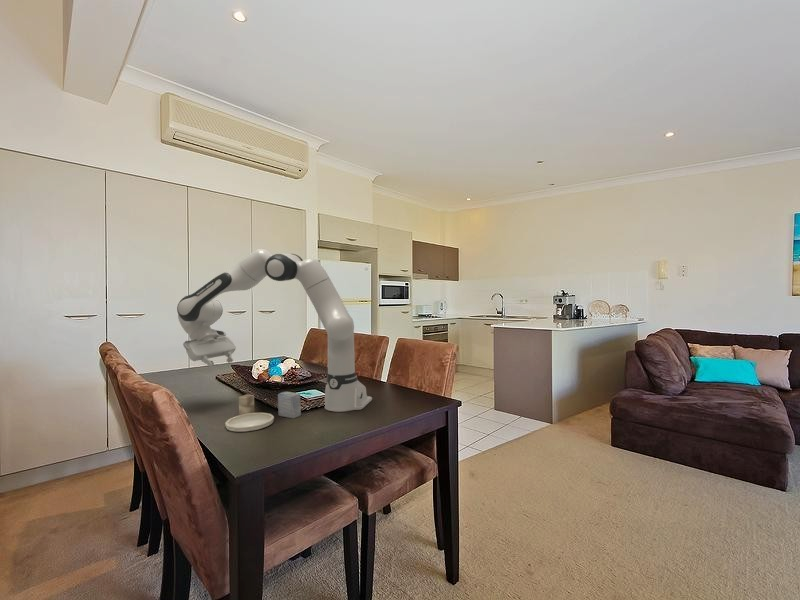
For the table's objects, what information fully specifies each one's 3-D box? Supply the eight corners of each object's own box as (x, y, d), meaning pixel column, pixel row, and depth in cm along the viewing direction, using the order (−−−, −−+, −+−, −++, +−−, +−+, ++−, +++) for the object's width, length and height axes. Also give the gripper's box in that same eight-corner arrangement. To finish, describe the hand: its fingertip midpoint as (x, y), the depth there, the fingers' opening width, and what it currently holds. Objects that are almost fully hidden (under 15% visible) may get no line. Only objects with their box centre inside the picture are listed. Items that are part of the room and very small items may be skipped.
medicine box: (301, 415, 148) (300, 393, 148) (292, 419, 144) (292, 396, 144) (286, 412, 152) (286, 391, 152) (277, 416, 148) (277, 393, 148)
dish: (250, 415, 150) (250, 410, 150) (282, 420, 143) (282, 415, 143) (215, 428, 135) (215, 424, 135) (249, 435, 129) (249, 430, 129)
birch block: (247, 411, 155) (246, 394, 154) (254, 412, 153) (253, 395, 153) (239, 414, 151) (238, 396, 151) (246, 415, 149) (246, 397, 149)
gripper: (185, 336, 150) (203, 362, 146) (227, 331, 169) (244, 354, 165) (177, 347, 152) (195, 373, 148) (220, 340, 171) (237, 364, 167)
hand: (221, 363), depth 157 cm, fingers open, 8 cm apart
